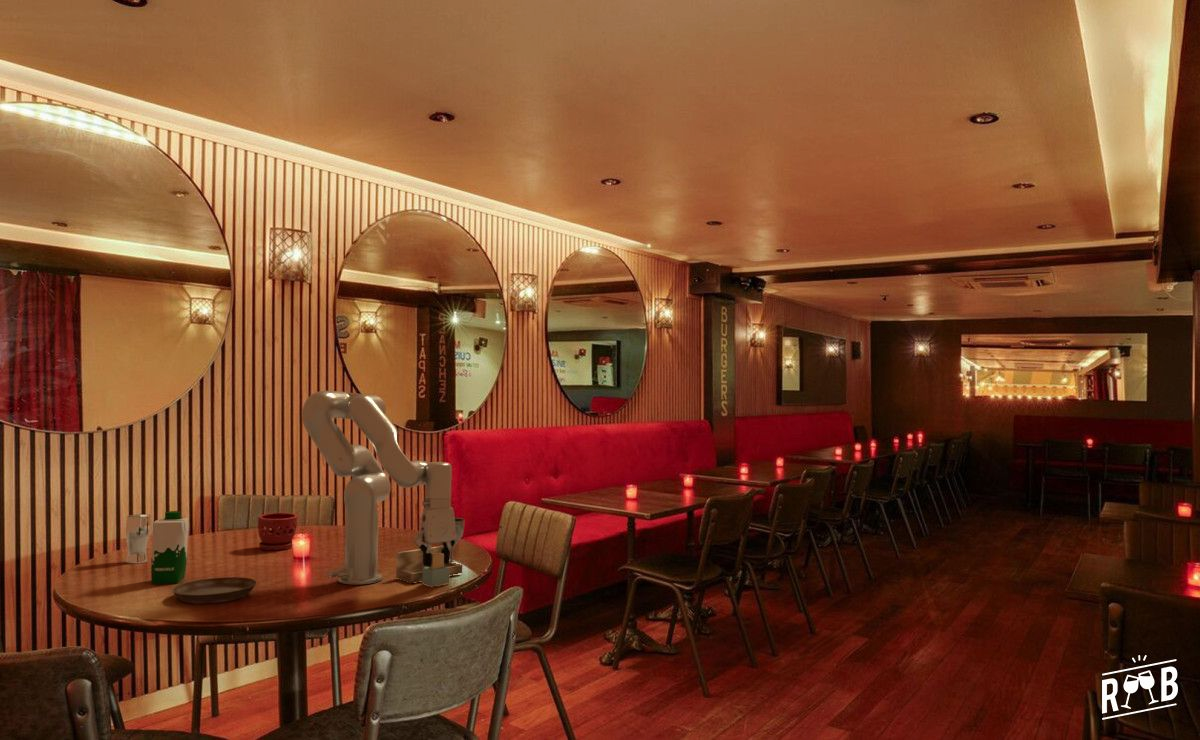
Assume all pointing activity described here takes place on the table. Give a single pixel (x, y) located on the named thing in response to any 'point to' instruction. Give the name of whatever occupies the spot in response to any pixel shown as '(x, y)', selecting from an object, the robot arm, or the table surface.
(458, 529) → the wine glass
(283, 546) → the plant pot
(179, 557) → the milk carton
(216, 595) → the plant saucer
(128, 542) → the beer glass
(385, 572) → the table surface
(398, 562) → the board
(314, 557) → the table surface
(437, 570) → the grey square block
